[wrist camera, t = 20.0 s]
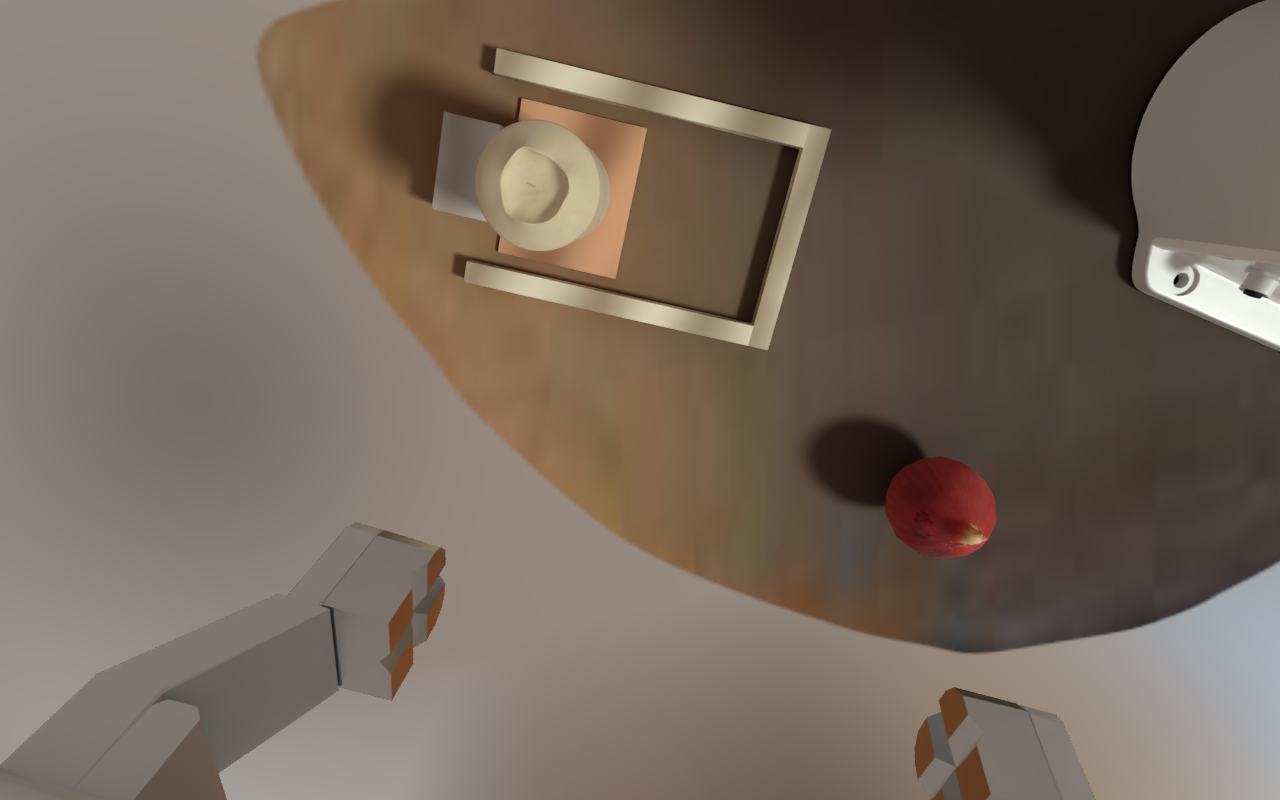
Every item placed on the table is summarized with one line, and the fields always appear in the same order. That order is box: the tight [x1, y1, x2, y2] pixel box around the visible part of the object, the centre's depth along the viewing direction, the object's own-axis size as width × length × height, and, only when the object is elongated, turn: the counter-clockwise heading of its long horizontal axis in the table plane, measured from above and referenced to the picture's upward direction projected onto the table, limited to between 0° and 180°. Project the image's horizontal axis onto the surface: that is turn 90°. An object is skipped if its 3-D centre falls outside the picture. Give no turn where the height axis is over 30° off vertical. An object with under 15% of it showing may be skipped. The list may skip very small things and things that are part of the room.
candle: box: [475, 120, 611, 251], centre depth 32 cm, size 6×6×10 cm
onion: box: [886, 457, 996, 558], centre depth 38 cm, size 6×6×8 cm
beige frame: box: [432, 48, 831, 350], centre depth 36 cm, size 20×12×2 cm, turn 77°
